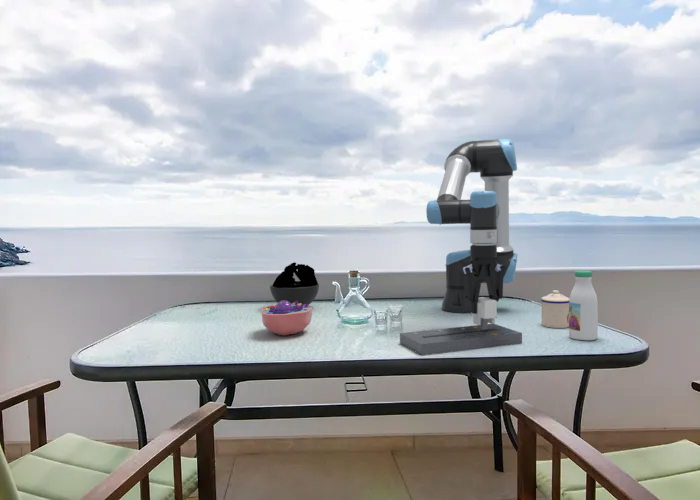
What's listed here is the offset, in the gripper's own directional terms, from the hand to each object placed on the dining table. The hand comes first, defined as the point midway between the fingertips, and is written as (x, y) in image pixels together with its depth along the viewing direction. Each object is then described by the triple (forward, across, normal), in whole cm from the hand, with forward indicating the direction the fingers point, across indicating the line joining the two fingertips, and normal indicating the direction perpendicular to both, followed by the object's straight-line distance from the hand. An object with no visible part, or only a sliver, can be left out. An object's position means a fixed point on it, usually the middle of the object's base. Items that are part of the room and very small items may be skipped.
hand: (483, 323), depth 150 cm
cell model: (+5, -52, +34) cm, 62 cm away
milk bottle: (+5, +28, -9) cm, 30 cm away
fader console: (+5, -8, 0) cm, 9 cm away
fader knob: (+2, 0, 0) cm, 2 cm away
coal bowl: (+5, -40, +76) cm, 86 cm away
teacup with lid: (+5, +33, +9) cm, 35 cm away
